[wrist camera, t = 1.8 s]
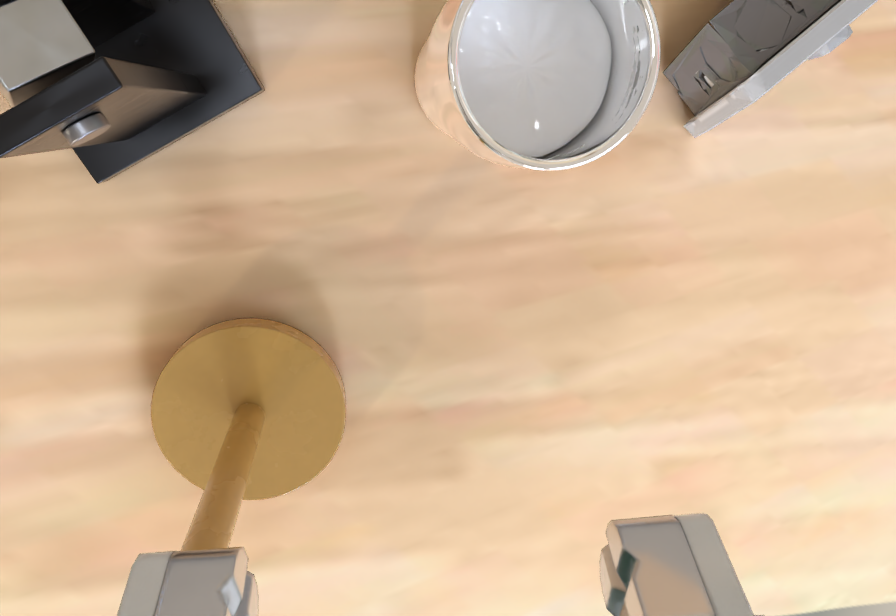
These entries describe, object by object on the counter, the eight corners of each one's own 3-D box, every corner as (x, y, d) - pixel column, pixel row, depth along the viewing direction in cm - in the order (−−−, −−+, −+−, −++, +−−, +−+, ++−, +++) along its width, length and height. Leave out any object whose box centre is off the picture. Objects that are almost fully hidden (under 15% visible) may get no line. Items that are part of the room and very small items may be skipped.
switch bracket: (106, 181, 34) (-49, 227, 21) (12, 46, 32) (-224, 4, 19) (265, 90, 34) (210, 79, 21) (181, -52, 32) (61, -162, 19)
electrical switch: (687, 141, 38) (779, 134, 28) (630, 63, 36) (706, 29, 27) (828, 23, 37) (969, -23, 28) (774, -60, 36) (902, -136, 27)
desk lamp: (167, 271, 36) (-799, 1118, 6) (391, 334, 38) (525, 1156, 8) (117, 475, 39) (-724, 1778, 8) (329, 521, 41) (262, 1660, 11)
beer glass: (566, 102, 36) (705, 97, 22) (453, 176, 36) (516, 221, 22) (497, -25, 34) (600, -121, 20) (377, 56, 34) (394, 18, 20)
